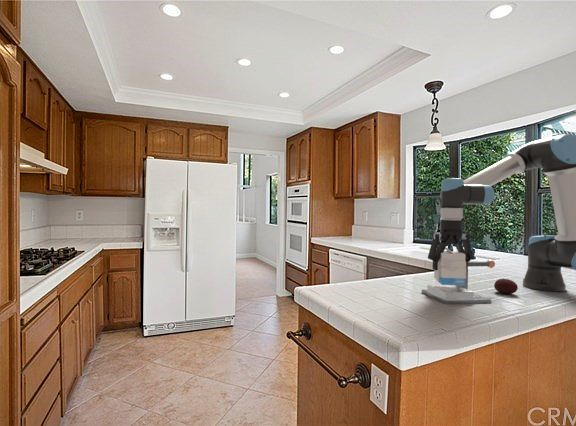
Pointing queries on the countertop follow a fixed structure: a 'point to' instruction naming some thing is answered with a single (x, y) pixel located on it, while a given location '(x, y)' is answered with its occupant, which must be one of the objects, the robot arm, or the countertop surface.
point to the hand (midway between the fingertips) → (449, 278)
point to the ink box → (452, 268)
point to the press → (454, 294)
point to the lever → (483, 263)
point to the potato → (505, 286)
